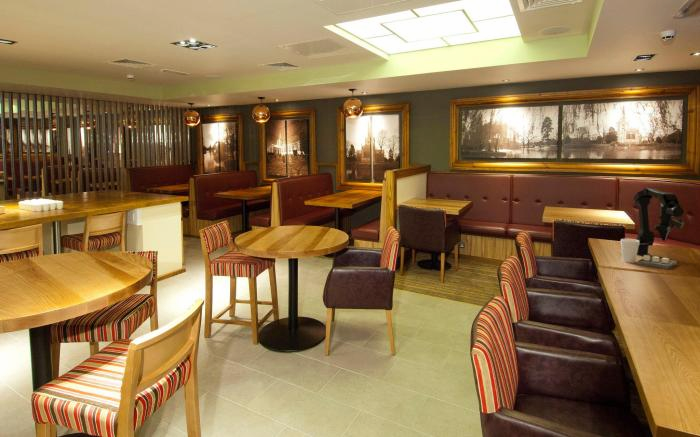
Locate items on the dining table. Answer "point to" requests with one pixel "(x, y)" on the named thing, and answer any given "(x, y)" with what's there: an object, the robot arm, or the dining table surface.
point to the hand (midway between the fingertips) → (664, 240)
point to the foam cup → (629, 250)
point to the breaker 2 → (665, 260)
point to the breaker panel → (657, 263)
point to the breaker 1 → (646, 257)
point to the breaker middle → (655, 259)
